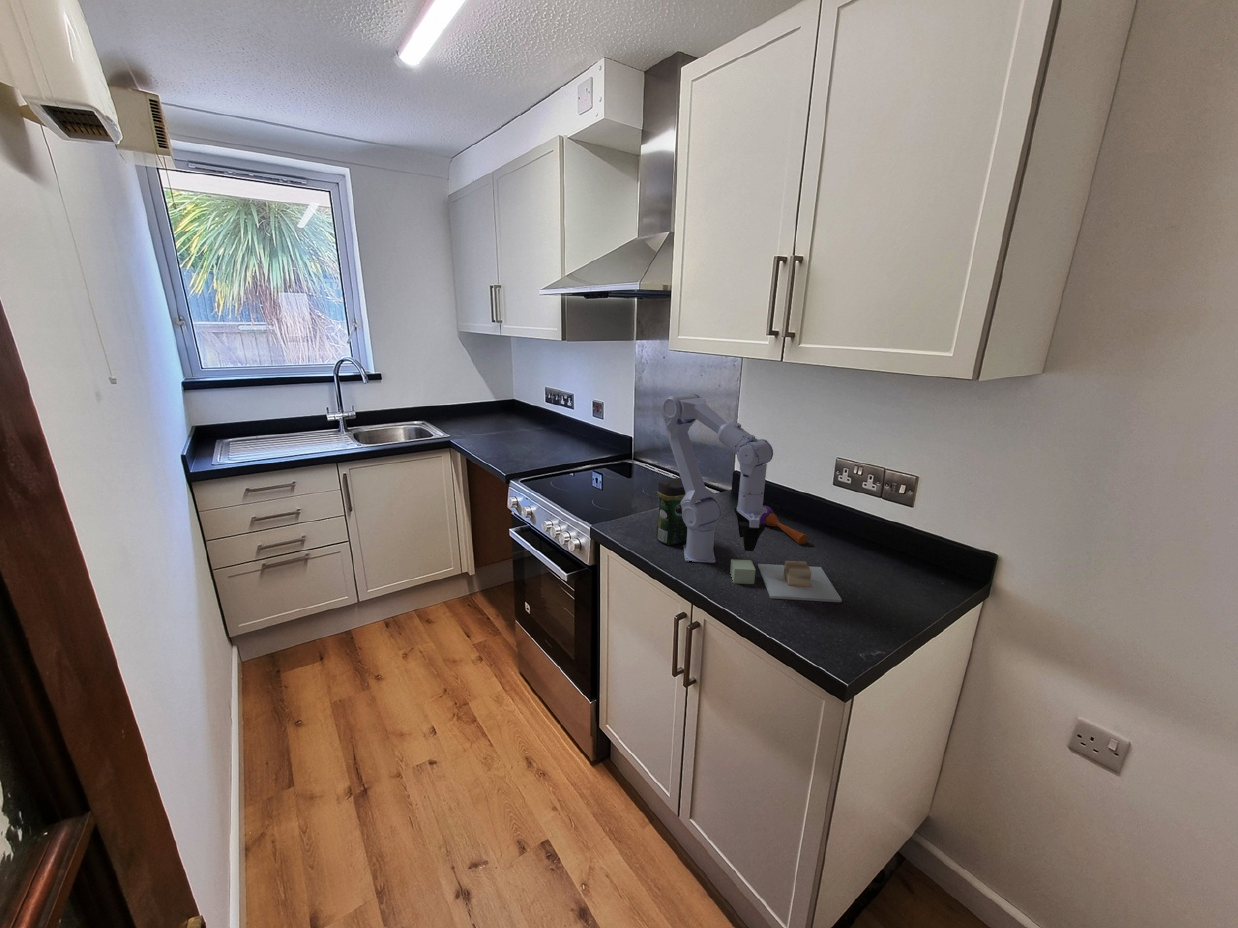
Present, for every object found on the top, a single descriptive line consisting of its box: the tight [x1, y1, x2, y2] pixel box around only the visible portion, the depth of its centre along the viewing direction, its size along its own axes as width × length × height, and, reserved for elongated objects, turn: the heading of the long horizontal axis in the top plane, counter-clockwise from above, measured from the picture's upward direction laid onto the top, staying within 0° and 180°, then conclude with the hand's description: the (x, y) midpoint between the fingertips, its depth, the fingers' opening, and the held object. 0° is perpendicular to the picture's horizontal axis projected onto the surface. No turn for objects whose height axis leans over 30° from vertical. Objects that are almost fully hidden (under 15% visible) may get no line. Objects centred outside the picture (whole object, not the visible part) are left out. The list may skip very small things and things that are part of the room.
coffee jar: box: [655, 476, 687, 546], centre depth 145 cm, size 10×8×19 cm
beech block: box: [784, 560, 812, 586], centre depth 124 cm, size 5×5×4 cm
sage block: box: [729, 559, 756, 585], centre depth 126 cm, size 5×5×4 cm
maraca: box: [759, 505, 809, 546], centre depth 154 cm, size 6×6×20 cm
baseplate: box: [757, 563, 843, 603], centre depth 124 cm, size 16×16×1 cm
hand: (746, 543), depth 124 cm, fingers open, 7 cm apart
